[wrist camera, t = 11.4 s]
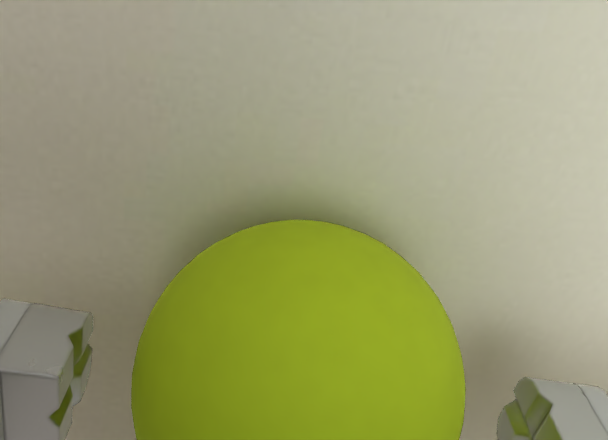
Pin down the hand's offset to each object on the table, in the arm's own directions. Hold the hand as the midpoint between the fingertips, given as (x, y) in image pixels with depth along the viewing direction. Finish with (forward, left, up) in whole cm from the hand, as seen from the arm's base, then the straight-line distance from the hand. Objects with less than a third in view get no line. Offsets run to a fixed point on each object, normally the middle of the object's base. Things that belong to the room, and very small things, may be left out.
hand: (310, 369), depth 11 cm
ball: (0, 0, 0) cm, 0 cm away
